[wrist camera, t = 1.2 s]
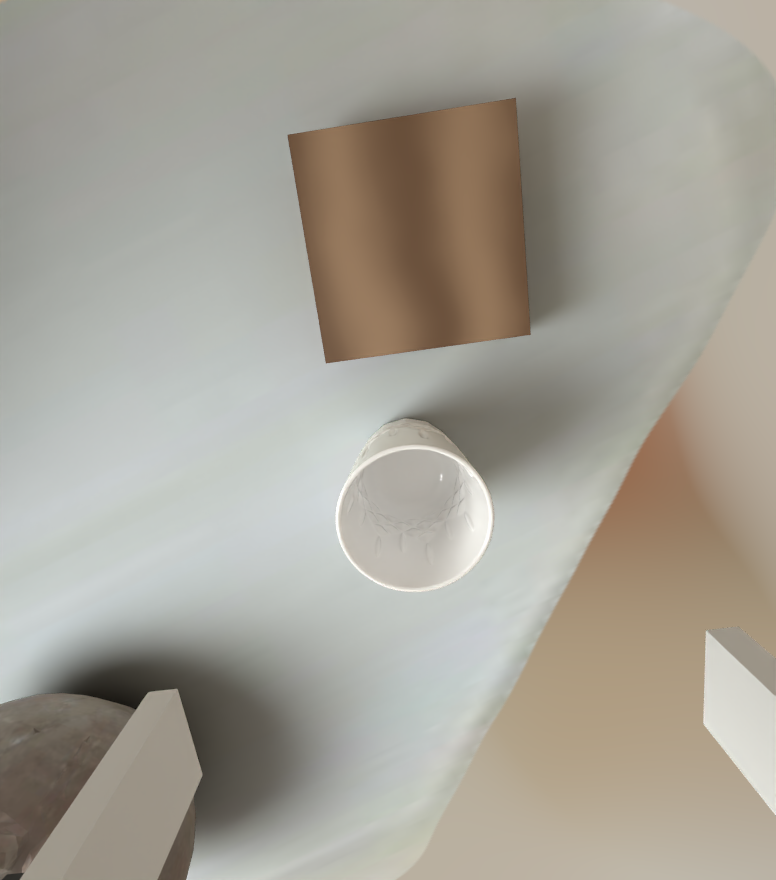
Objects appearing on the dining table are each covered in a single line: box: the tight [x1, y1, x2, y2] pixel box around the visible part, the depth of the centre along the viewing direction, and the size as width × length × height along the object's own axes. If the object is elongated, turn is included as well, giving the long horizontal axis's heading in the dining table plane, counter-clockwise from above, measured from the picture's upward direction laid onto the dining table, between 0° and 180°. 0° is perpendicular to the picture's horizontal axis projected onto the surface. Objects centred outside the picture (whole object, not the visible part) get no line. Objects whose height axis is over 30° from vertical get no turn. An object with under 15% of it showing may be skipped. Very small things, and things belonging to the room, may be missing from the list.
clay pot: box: [0, 693, 196, 880], centre depth 31 cm, size 21×21×15 cm
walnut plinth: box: [288, 98, 531, 363], centre depth 27 cm, size 12×12×4 cm
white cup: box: [336, 418, 494, 592], centre depth 27 cm, size 8×8×10 cm
